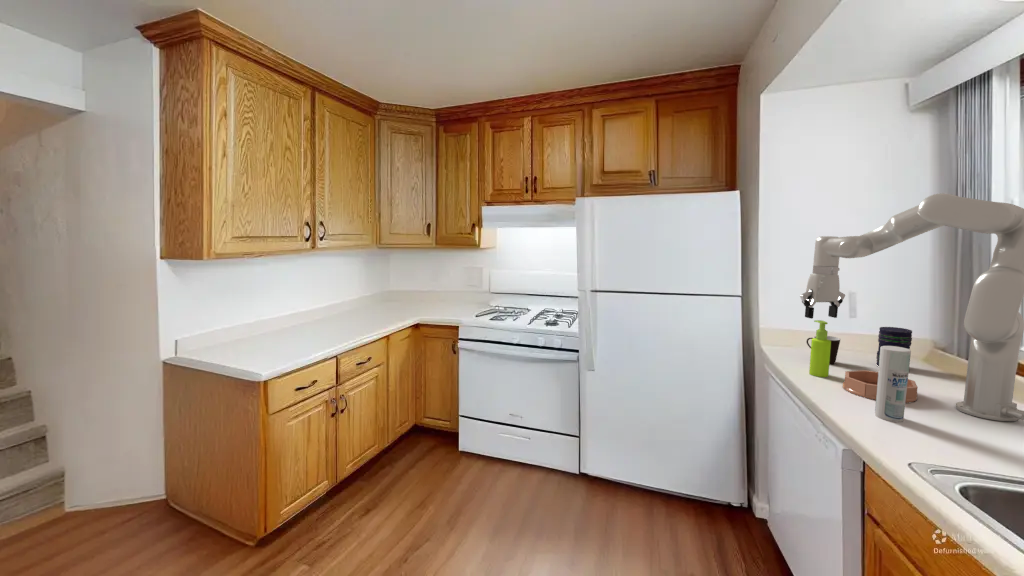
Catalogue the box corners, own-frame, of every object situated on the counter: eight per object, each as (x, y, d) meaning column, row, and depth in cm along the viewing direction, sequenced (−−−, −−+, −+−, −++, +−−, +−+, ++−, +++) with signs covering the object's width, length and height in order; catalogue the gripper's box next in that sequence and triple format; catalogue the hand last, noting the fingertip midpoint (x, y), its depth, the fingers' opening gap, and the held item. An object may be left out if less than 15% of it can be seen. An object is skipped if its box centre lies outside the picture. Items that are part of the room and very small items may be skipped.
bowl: (933, 400, 140) (935, 386, 140) (880, 404, 137) (881, 390, 137) (876, 381, 159) (877, 368, 158) (828, 384, 156) (829, 371, 155)
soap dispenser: (820, 371, 170) (824, 319, 168) (831, 377, 163) (836, 323, 161) (804, 371, 171) (808, 319, 168) (814, 377, 164) (818, 322, 162)
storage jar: (870, 365, 178) (873, 328, 176) (884, 362, 182) (887, 325, 180) (900, 372, 169) (904, 333, 167) (914, 368, 173) (918, 330, 171)
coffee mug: (843, 365, 178) (845, 340, 177) (821, 365, 178) (823, 340, 177) (824, 357, 190) (825, 333, 189) (803, 357, 190) (805, 333, 189)
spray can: (890, 412, 131) (896, 345, 129) (910, 421, 125) (917, 351, 123) (868, 413, 131) (874, 345, 129) (887, 422, 125) (894, 351, 122)
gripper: (837, 269, 168) (833, 314, 170) (795, 270, 165) (791, 316, 167) (855, 271, 160) (850, 318, 163) (812, 272, 158) (807, 320, 160)
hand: (820, 317), depth 165 cm, fingers open, 9 cm apart
